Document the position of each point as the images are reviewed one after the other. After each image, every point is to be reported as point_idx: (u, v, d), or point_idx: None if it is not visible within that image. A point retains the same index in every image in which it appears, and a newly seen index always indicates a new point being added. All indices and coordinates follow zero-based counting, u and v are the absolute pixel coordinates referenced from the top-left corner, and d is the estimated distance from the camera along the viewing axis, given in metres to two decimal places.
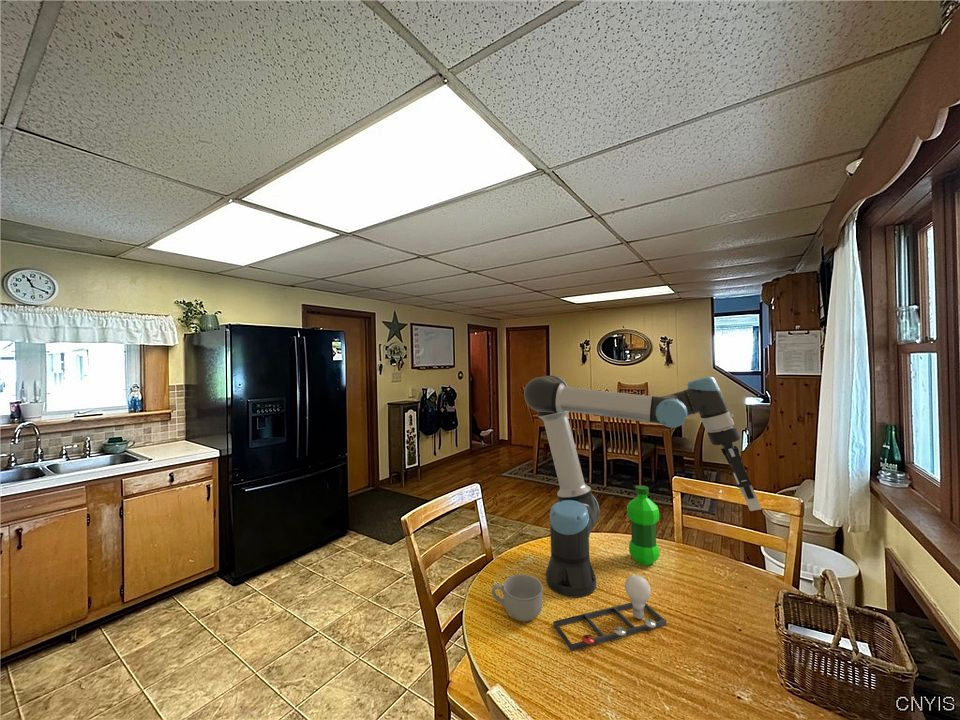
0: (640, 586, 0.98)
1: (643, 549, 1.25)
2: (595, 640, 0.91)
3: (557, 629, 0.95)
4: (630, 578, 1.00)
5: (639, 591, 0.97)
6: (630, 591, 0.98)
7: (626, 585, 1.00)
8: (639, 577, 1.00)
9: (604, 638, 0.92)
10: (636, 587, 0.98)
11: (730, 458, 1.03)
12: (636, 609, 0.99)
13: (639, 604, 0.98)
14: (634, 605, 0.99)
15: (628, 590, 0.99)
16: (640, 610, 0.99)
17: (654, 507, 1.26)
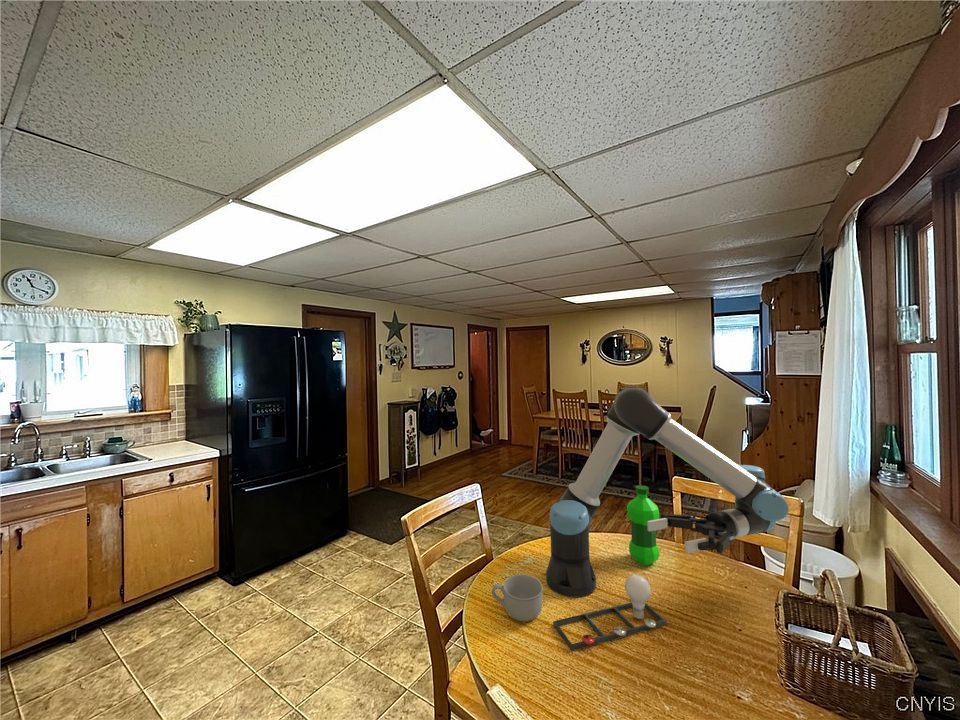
0: (640, 586, 0.98)
1: (643, 549, 1.25)
2: (595, 640, 0.91)
3: (557, 629, 0.95)
4: (630, 578, 1.00)
5: (639, 591, 0.97)
6: (630, 591, 0.98)
7: (626, 585, 1.00)
8: (639, 577, 1.00)
9: (604, 638, 0.92)
10: (636, 587, 0.98)
11: (729, 535, 1.00)
12: (636, 609, 0.99)
13: (639, 604, 0.98)
14: (634, 605, 0.99)
15: (628, 590, 0.99)
16: (640, 610, 0.99)
17: (654, 507, 1.26)
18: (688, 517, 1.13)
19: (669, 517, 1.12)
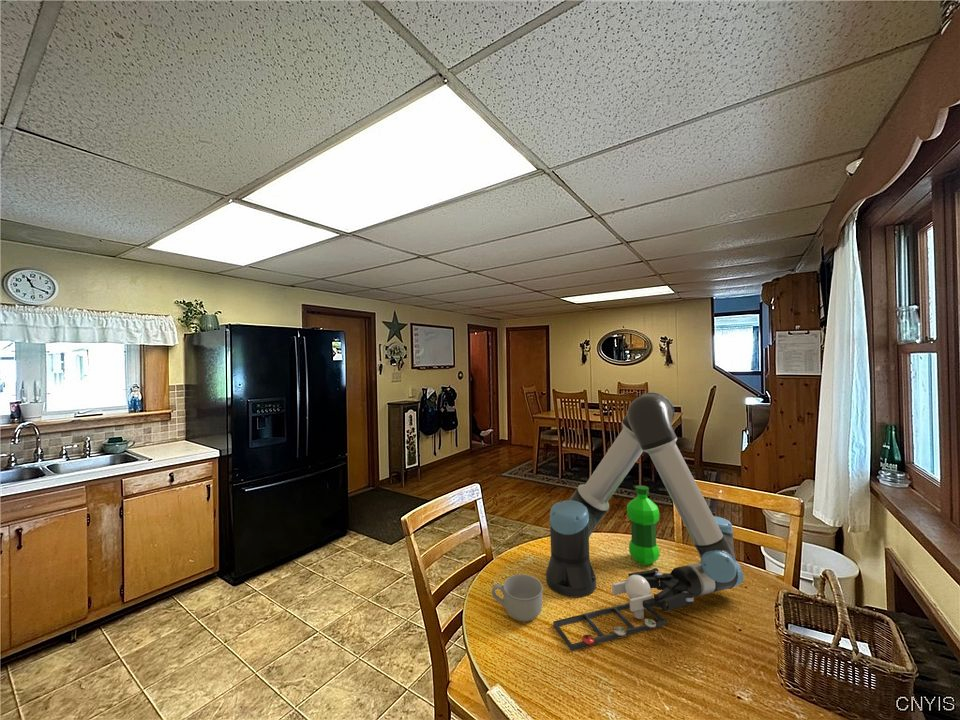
0: (640, 586, 0.98)
1: (643, 549, 1.25)
2: (595, 640, 0.91)
3: (557, 629, 0.95)
4: (630, 578, 1.00)
5: (639, 591, 0.97)
6: (630, 591, 0.98)
7: (626, 585, 1.00)
8: (639, 577, 1.00)
9: (604, 638, 0.92)
10: (636, 587, 0.98)
11: (685, 596, 0.97)
12: None
13: None
14: None
15: (628, 590, 0.99)
16: (640, 610, 0.99)
17: (654, 507, 1.26)
18: (653, 573, 1.08)
19: None
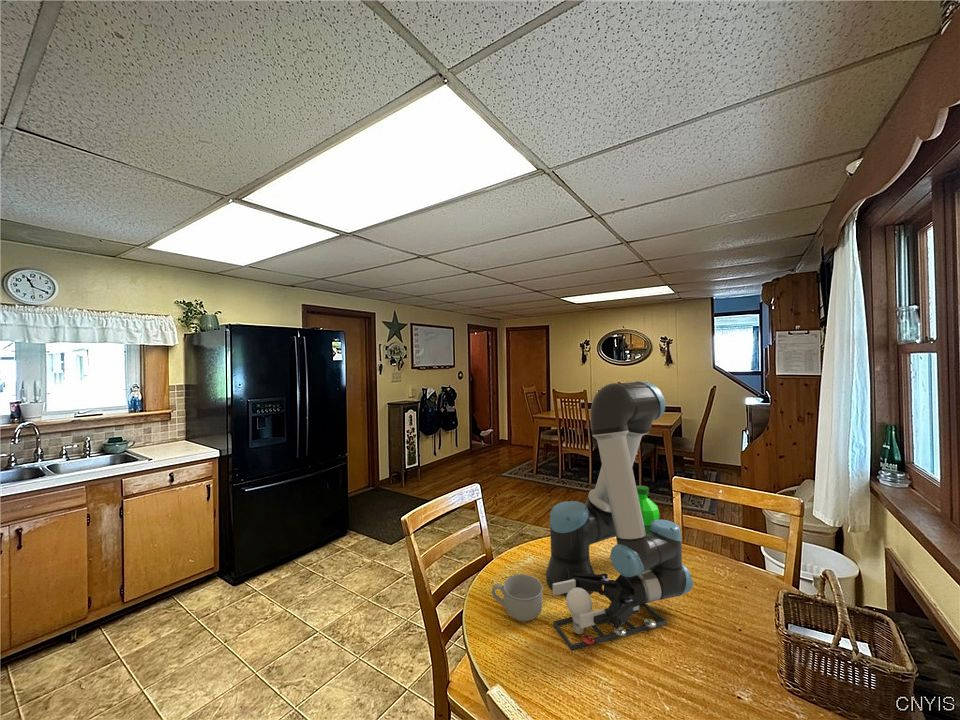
0: (580, 601, 0.92)
1: None
2: (595, 640, 0.91)
3: (557, 629, 0.95)
4: (571, 591, 0.95)
5: (579, 606, 0.92)
6: (570, 605, 0.93)
7: (567, 598, 0.95)
8: (581, 591, 0.94)
9: (604, 638, 0.92)
10: (576, 601, 0.92)
11: (632, 606, 0.91)
12: (576, 624, 0.94)
13: None
14: (574, 619, 0.94)
15: (568, 604, 0.94)
16: None
17: (654, 507, 1.26)
18: (600, 577, 1.04)
19: (579, 578, 1.03)
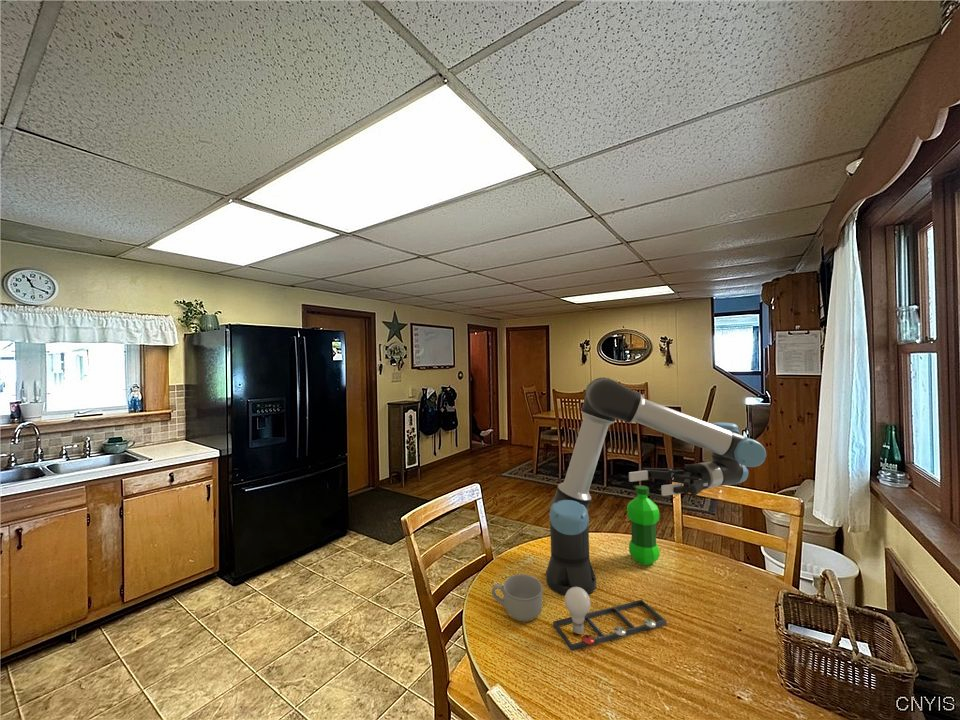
0: (578, 600, 0.93)
1: (643, 549, 1.25)
2: (595, 640, 0.91)
3: (557, 629, 0.95)
4: (569, 590, 0.95)
5: (577, 605, 0.92)
6: (568, 604, 0.94)
7: (565, 598, 0.95)
8: (579, 589, 0.95)
9: (604, 638, 0.92)
10: (574, 600, 0.93)
11: (703, 482, 1.09)
12: (575, 623, 0.94)
13: (578, 618, 0.93)
14: (573, 619, 0.94)
15: (567, 603, 0.94)
16: (579, 624, 0.94)
17: (654, 507, 1.26)
18: (667, 470, 1.21)
19: (649, 470, 1.20)
